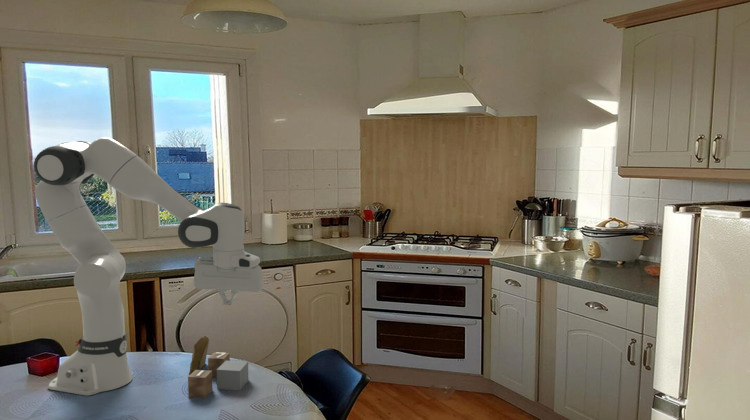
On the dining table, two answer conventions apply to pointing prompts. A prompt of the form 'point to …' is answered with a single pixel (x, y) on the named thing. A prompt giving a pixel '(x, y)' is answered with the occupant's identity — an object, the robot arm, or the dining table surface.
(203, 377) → the walnut block one
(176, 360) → the dining table surface
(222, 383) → the grey block
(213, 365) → the walnut block seven
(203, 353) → the rock
